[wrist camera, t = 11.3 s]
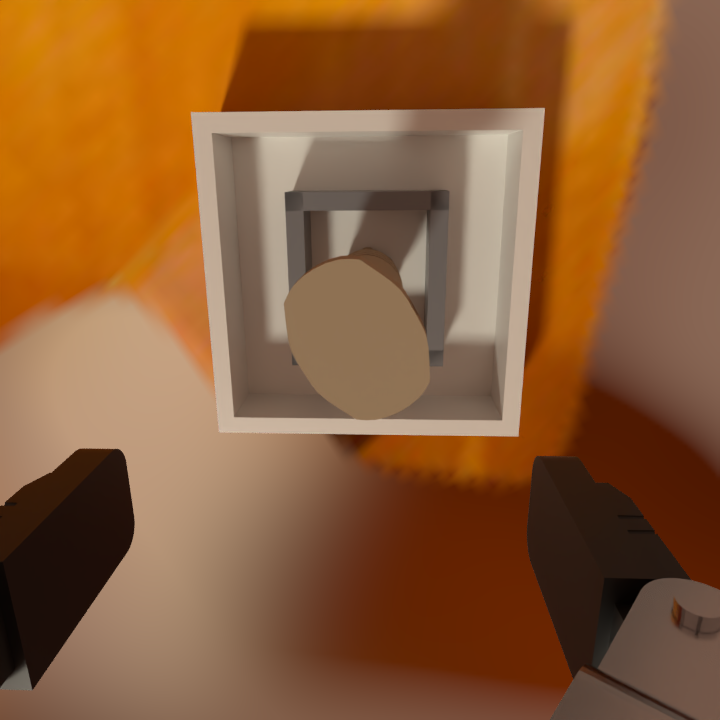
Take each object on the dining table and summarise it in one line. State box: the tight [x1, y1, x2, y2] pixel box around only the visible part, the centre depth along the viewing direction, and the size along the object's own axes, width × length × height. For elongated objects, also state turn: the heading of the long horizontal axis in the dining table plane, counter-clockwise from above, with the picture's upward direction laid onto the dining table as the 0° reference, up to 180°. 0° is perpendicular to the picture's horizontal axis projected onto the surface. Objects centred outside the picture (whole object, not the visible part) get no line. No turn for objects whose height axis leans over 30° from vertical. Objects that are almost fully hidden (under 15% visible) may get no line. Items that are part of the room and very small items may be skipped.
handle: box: [284, 247, 430, 420], centre depth 29 cm, size 5×6×15 cm
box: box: [191, 108, 545, 436], centre depth 35 cm, size 18×18×5 cm
